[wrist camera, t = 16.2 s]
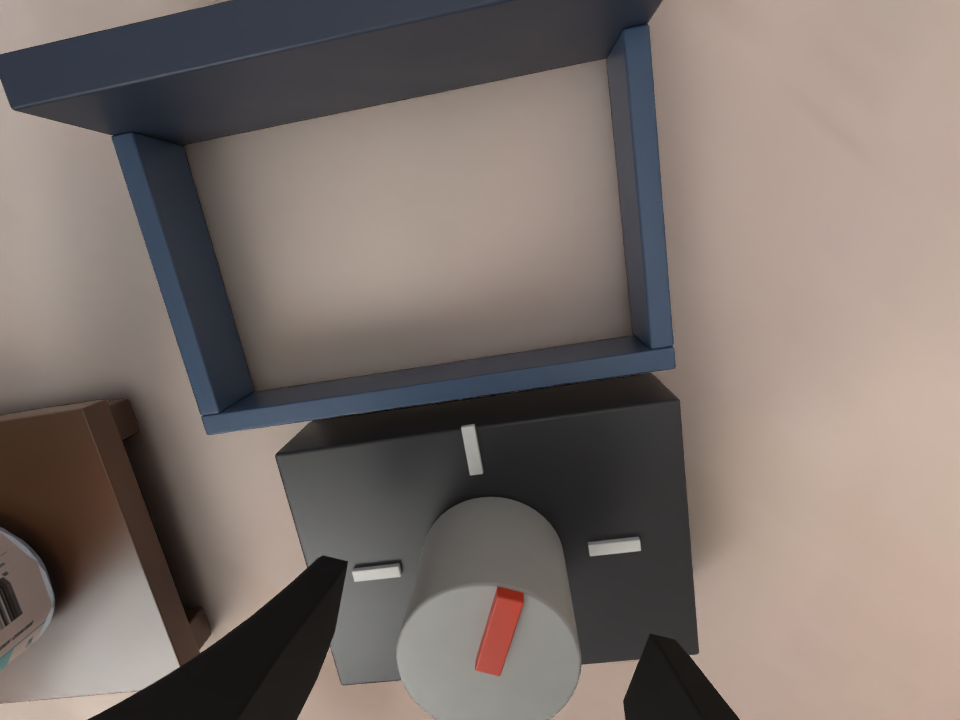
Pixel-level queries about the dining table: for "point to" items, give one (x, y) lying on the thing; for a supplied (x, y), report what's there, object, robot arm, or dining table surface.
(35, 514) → the square wooden board
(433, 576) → the dial
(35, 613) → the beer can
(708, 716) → the robot arm
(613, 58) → the bin
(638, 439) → the panel
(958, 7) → the dining table surface
